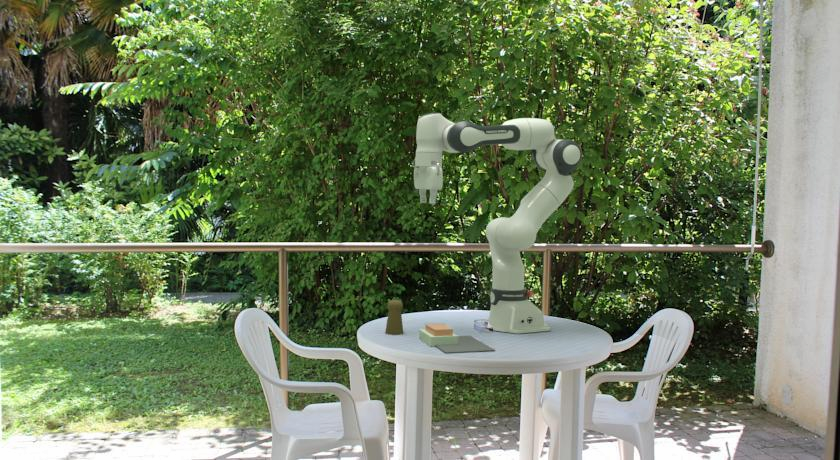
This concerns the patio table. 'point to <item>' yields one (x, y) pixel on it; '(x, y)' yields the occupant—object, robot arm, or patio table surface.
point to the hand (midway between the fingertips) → (427, 203)
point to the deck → (437, 338)
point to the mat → (465, 346)
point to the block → (439, 330)
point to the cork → (394, 318)
